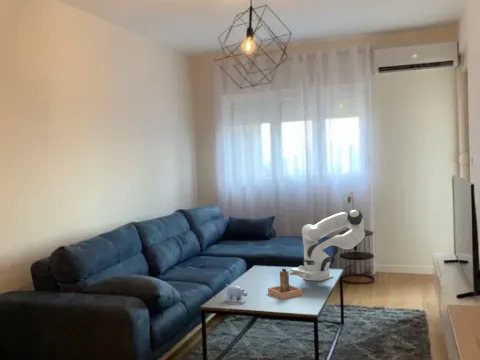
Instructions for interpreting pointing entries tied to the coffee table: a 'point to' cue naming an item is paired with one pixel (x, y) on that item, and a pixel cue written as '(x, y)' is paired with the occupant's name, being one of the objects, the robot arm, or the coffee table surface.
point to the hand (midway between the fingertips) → (295, 275)
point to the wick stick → (284, 280)
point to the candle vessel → (291, 293)
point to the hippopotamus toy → (235, 293)
